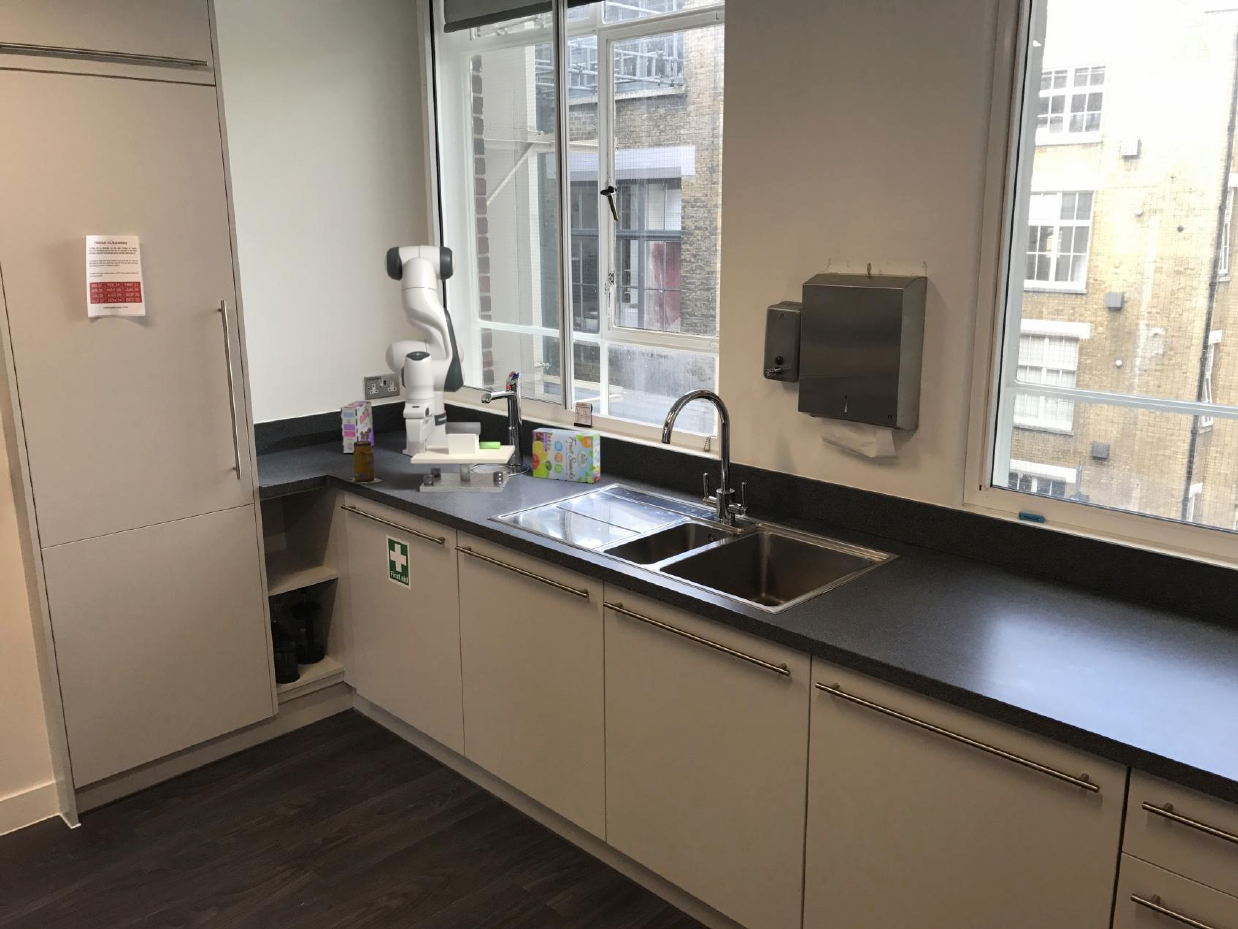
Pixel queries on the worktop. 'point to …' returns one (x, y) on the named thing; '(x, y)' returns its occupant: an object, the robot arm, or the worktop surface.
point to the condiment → (363, 463)
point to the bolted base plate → (463, 481)
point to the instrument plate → (478, 458)
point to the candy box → (356, 424)
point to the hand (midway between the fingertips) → (423, 452)
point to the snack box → (566, 455)
